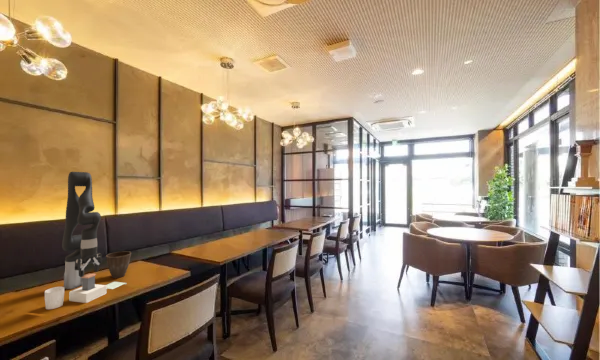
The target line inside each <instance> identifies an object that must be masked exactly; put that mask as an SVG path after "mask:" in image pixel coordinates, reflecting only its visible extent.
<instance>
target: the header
mask: <svg viewBox="0 0 600 360" xmlns="http://www.w3.org/2000/svg"><path fill="white" fill-rule="evenodd" d="M107 291H108V289H107V284H96V283H95V288H93V289H91V290H88V291H85V290H82V286H80V287H77V288H74V289H72V290H71V291H69V293H68V294H69V295H68V299H69V300H68V301H69V302H75V303H83V304H88V303H90V302H92V301H94V300H96V299H98V298H101V297H102V296H104V295H106V294H107Z"/></svg>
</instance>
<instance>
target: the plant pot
mask: <svg viewBox="0 0 600 360" xmlns="http://www.w3.org/2000/svg"><path fill="white" fill-rule="evenodd" d="M131 256H132V252H131V251H125V250H124V251H116V252H110V253H108V254H106V255H105V258H106V264H107V268H108V271H109V273H110V276H111V278H112V279H119V278H123V277H125V275H126V273H127V271H128V268H129V265H130V262H131Z"/></svg>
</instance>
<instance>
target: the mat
mask: <svg viewBox="0 0 600 360" xmlns="http://www.w3.org/2000/svg"><path fill="white" fill-rule="evenodd" d="M106 285H107V290H108V289H109V290H114V289H116V288H119V287H121V286H123V285H127V282H120V281H112V282H110V283H108V284H106Z"/></svg>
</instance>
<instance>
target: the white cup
mask: <svg viewBox="0 0 600 360" xmlns="http://www.w3.org/2000/svg"><path fill="white" fill-rule="evenodd" d="M64 299H65V287H64V286H54V287H51V288H48V289H46V290H44V303H45V304H44V305H45V309H46V310H53V309H57V308H60V307H62V306H64V305H63V304H64V302H65V301H64Z"/></svg>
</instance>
